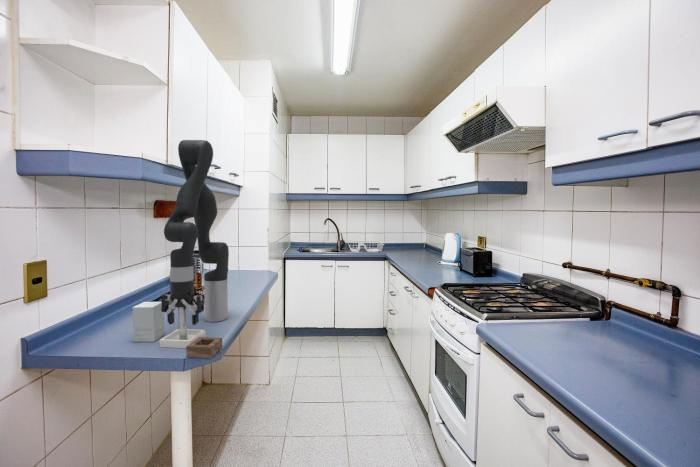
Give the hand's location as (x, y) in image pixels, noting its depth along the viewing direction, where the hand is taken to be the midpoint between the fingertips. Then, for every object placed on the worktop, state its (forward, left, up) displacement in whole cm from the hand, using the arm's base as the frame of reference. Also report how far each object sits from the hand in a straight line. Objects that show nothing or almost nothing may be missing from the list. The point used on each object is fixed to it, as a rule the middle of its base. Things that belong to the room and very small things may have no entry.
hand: (183, 323), depth 115 cm
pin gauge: (0, 0, -6) cm, 6 cm away
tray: (0, 0, -6) cm, 6 cm away
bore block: (+8, +12, -6) cm, 16 cm away
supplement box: (-2, -14, -7) cm, 16 cm away
